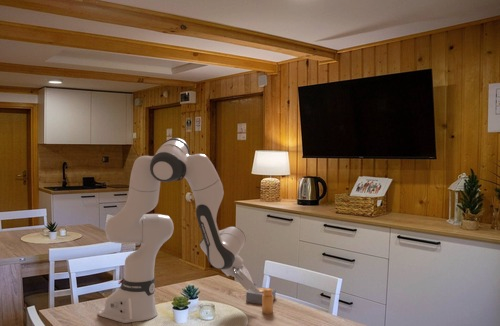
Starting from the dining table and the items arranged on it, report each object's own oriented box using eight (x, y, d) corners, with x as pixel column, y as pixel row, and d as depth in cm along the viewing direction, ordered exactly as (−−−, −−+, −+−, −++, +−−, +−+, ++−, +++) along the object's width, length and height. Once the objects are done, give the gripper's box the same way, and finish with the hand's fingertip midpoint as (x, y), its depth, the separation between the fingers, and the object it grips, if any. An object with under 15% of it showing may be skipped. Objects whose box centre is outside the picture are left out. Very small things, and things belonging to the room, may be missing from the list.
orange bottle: (260, 312, 177) (261, 290, 177) (263, 309, 181) (264, 287, 181) (271, 314, 176) (271, 291, 175) (274, 310, 180) (274, 288, 180)
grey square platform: (246, 301, 190) (246, 292, 190) (253, 295, 199) (254, 285, 199) (268, 305, 187) (268, 295, 186) (275, 298, 196) (275, 288, 196)
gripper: (240, 265, 165) (266, 291, 167) (236, 254, 186) (258, 277, 187) (228, 277, 165) (254, 303, 166) (225, 264, 185) (248, 287, 186)
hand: (256, 289), depth 177 cm, fingers open, 8 cm apart
